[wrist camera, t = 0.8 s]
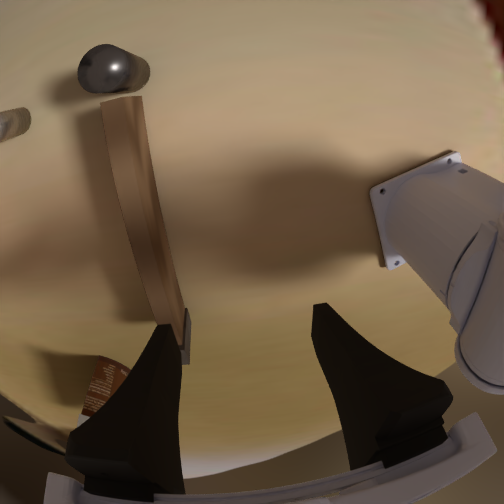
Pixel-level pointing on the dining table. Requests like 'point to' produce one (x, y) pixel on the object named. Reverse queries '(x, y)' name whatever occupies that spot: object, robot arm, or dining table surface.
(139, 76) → the hinge post
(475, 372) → the robot arm
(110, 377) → the food container
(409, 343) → the dining table surface
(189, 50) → the dining table surface
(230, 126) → the dining table surface
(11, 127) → the post
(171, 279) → the brown long bar
